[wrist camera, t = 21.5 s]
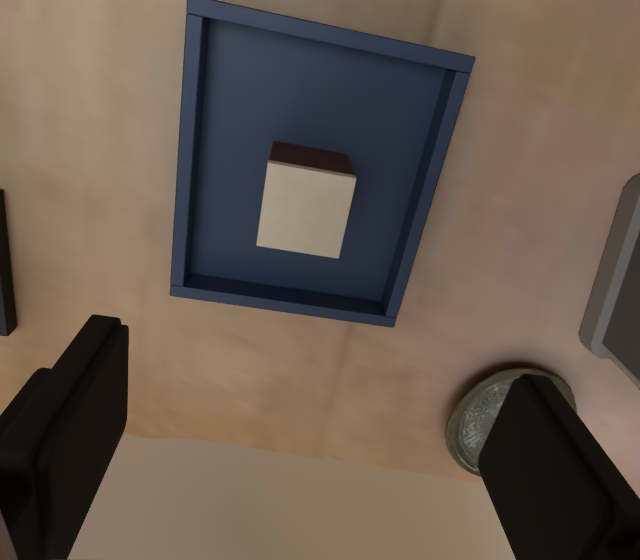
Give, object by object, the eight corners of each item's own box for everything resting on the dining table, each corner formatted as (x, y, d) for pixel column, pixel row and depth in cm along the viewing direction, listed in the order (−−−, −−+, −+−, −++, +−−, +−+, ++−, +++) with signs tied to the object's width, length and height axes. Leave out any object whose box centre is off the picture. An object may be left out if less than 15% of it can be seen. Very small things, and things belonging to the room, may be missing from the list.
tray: (197, -2, 25) (187, -6, 23) (461, 55, 27) (476, 57, 25) (178, 278, 32) (169, 296, 30) (387, 309, 34) (394, 328, 32)
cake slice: (273, 140, 28) (267, 162, 23) (346, 153, 29) (357, 178, 24) (263, 211, 30) (256, 246, 25) (332, 222, 31) (338, 259, 26)
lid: (428, 440, 42) (444, 497, 38) (449, 369, 35) (470, 429, 32) (546, 431, 43) (573, 486, 39) (587, 359, 36) (624, 417, 32)
